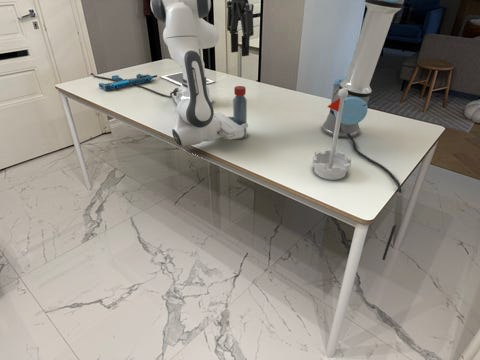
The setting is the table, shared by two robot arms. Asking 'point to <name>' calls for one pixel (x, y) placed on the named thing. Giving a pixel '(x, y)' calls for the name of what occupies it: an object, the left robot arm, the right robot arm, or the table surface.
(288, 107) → the table surface
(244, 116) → the bottle
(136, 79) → the submachine gun
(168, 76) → the tablet
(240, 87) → the cap
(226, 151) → the table surface
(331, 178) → the flag stand
